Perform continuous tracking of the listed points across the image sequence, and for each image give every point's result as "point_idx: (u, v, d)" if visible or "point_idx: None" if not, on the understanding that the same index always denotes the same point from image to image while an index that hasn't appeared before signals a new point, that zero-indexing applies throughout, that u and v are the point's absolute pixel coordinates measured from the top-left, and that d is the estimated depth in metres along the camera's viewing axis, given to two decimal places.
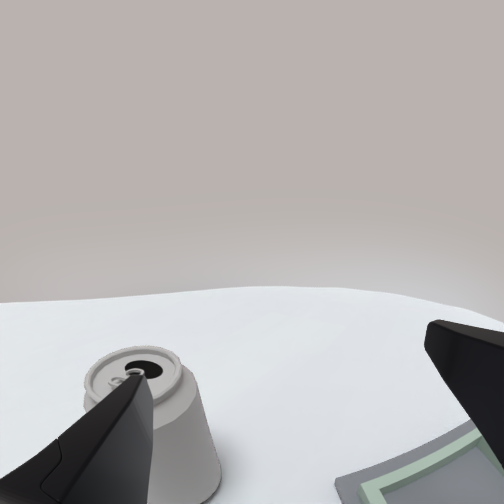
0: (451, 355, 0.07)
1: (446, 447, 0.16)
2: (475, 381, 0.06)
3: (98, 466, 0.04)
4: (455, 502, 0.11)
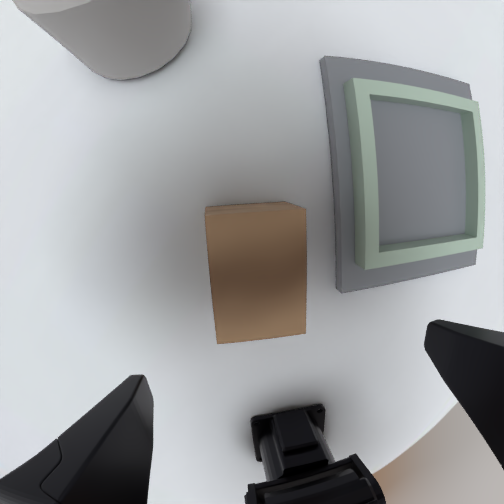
0: (451, 355, 0.07)
1: (441, 94, 0.16)
2: (475, 381, 0.06)
3: (98, 466, 0.04)
4: (423, 155, 0.19)
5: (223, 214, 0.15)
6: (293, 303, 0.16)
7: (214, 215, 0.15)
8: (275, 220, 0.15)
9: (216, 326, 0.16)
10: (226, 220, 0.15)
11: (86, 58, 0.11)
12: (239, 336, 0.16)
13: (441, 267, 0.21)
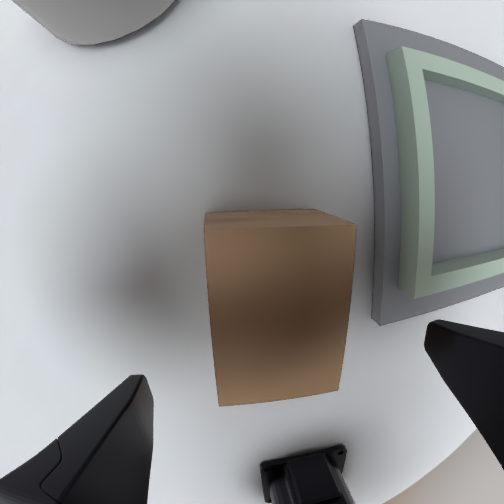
0: (451, 355, 0.07)
1: (494, 79, 0.11)
2: (475, 381, 0.06)
3: (98, 466, 0.04)
4: (475, 152, 0.13)
5: (233, 229, 0.09)
6: (327, 355, 0.11)
7: (219, 230, 0.09)
8: (311, 241, 0.10)
9: (218, 386, 0.11)
10: (237, 239, 0.09)
11: (38, 12, 0.06)
12: (250, 397, 0.11)
13: (487, 286, 0.16)
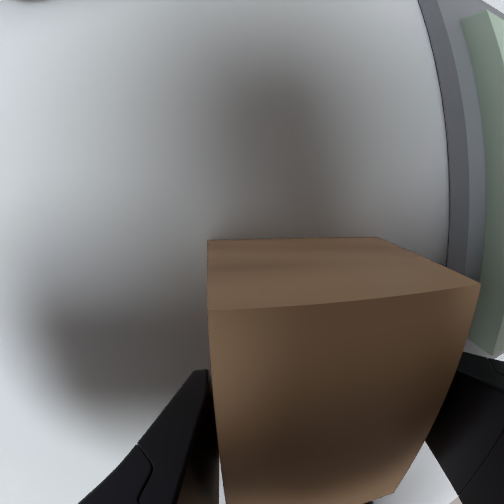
0: None
1: None
2: None
3: (193, 468, 0.04)
4: None
5: (275, 307, 0.04)
6: (393, 465, 0.06)
7: (242, 309, 0.04)
8: (418, 320, 0.04)
9: None
10: (283, 327, 0.04)
11: None
12: None
13: None
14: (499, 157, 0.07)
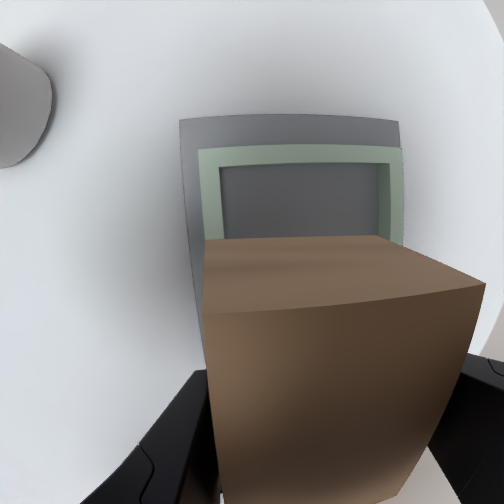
0: None
1: (335, 147, 0.16)
2: None
3: (195, 468, 0.04)
4: (309, 226, 0.18)
5: (272, 310, 0.04)
6: (396, 469, 0.06)
7: (239, 313, 0.04)
8: (422, 321, 0.04)
9: None
10: (282, 331, 0.04)
11: None
12: None
13: None
14: None
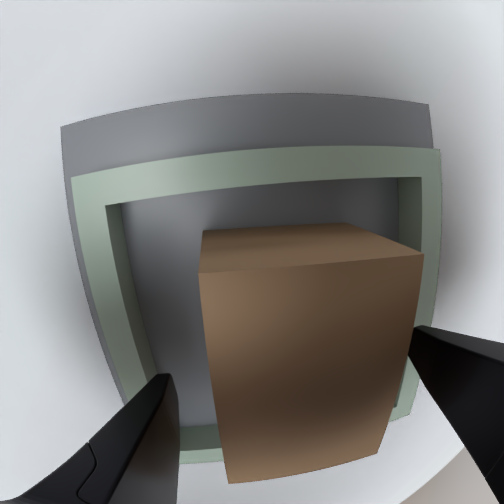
0: (433, 363, 0.07)
1: (324, 151, 0.08)
2: (458, 390, 0.06)
3: (136, 469, 0.04)
4: None
5: (246, 270, 0.06)
6: (370, 421, 0.07)
7: (223, 272, 0.06)
8: (365, 282, 0.06)
9: (227, 465, 0.07)
10: (253, 285, 0.06)
11: None
12: (268, 473, 0.07)
13: None
14: None
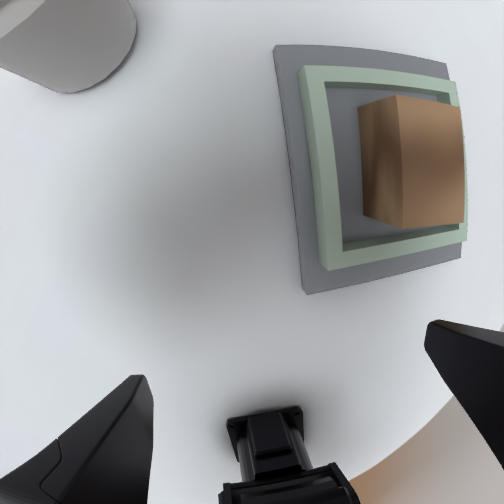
0: (451, 355, 0.07)
1: (410, 75, 0.15)
2: (475, 381, 0.06)
3: (98, 466, 0.04)
4: None
5: (408, 97, 0.13)
6: (457, 189, 0.14)
7: (402, 96, 0.13)
8: (443, 111, 0.13)
9: (403, 208, 0.14)
10: (411, 102, 0.13)
11: (29, 79, 0.10)
12: (420, 220, 0.15)
13: (420, 262, 0.20)
14: (312, 153, 0.17)
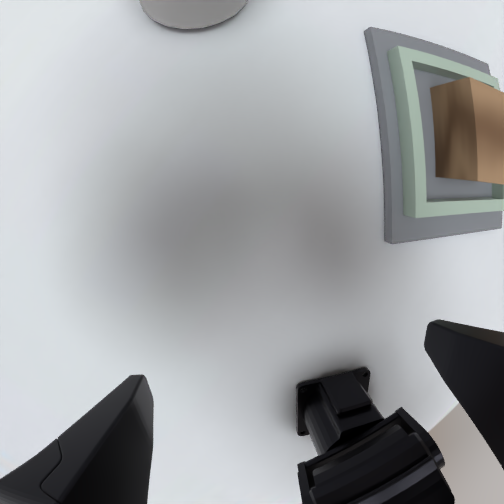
0: (451, 355, 0.07)
1: (467, 68, 0.16)
2: (475, 381, 0.06)
3: (98, 466, 0.04)
4: None
5: (476, 80, 0.13)
6: None
7: (473, 79, 0.13)
8: (498, 95, 0.14)
9: (477, 164, 0.15)
10: (479, 85, 0.13)
11: None
12: (488, 177, 0.15)
13: (474, 227, 0.21)
14: (403, 117, 0.17)
